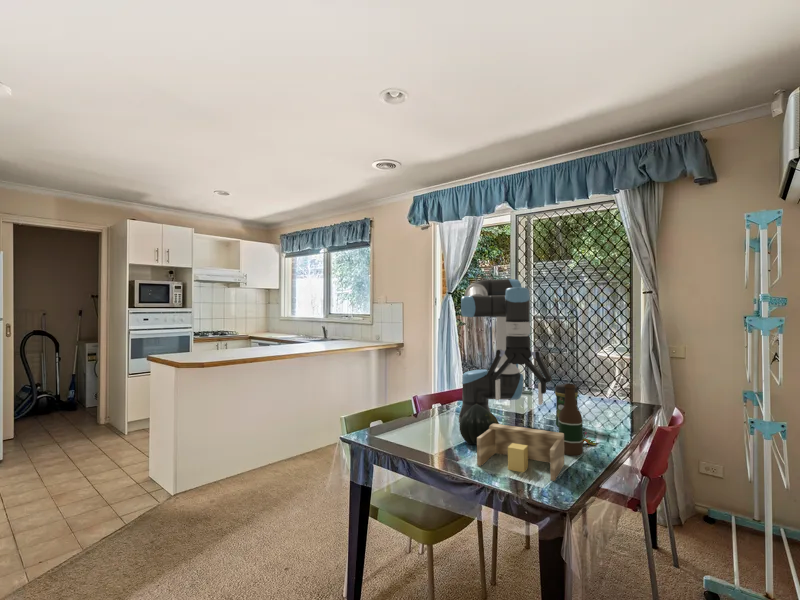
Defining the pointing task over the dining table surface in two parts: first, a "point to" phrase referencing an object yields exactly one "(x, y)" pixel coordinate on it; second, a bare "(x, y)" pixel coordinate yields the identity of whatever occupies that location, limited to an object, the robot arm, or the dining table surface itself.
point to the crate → (539, 444)
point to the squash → (476, 423)
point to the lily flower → (588, 440)
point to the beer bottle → (571, 423)
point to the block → (518, 457)
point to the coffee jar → (562, 399)
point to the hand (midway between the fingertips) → (518, 401)
